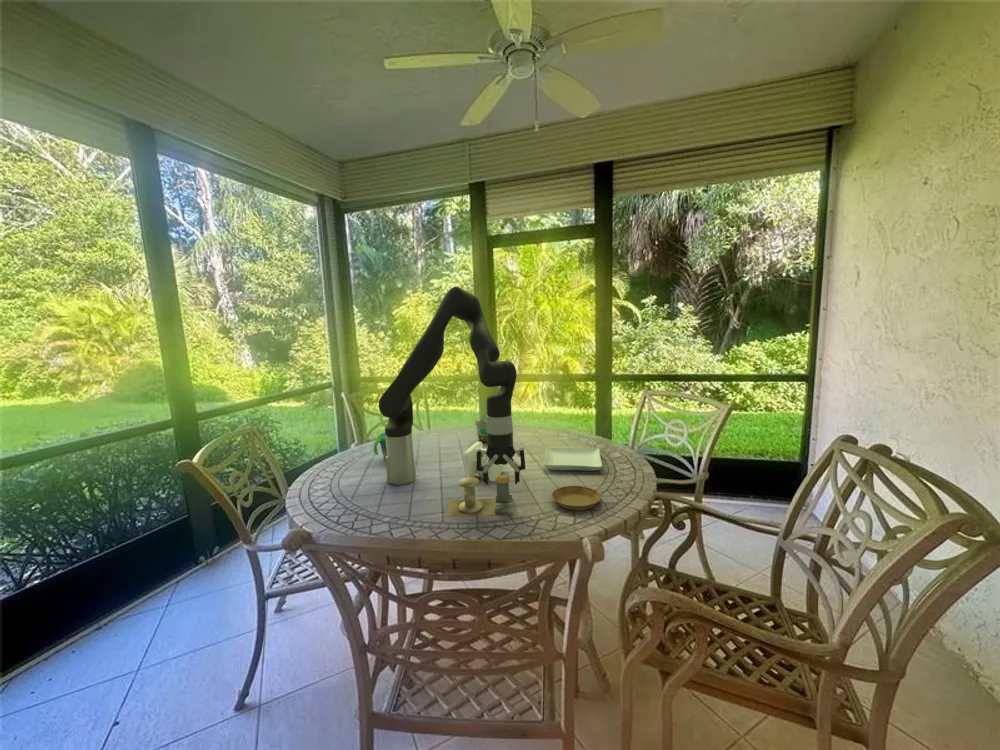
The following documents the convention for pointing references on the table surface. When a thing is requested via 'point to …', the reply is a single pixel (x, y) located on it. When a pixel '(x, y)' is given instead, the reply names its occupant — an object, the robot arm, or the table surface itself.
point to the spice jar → (502, 488)
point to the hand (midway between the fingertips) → (501, 483)
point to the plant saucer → (576, 497)
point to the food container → (482, 431)
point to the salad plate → (572, 458)
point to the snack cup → (383, 445)
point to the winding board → (483, 508)
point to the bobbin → (469, 496)
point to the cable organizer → (471, 463)
